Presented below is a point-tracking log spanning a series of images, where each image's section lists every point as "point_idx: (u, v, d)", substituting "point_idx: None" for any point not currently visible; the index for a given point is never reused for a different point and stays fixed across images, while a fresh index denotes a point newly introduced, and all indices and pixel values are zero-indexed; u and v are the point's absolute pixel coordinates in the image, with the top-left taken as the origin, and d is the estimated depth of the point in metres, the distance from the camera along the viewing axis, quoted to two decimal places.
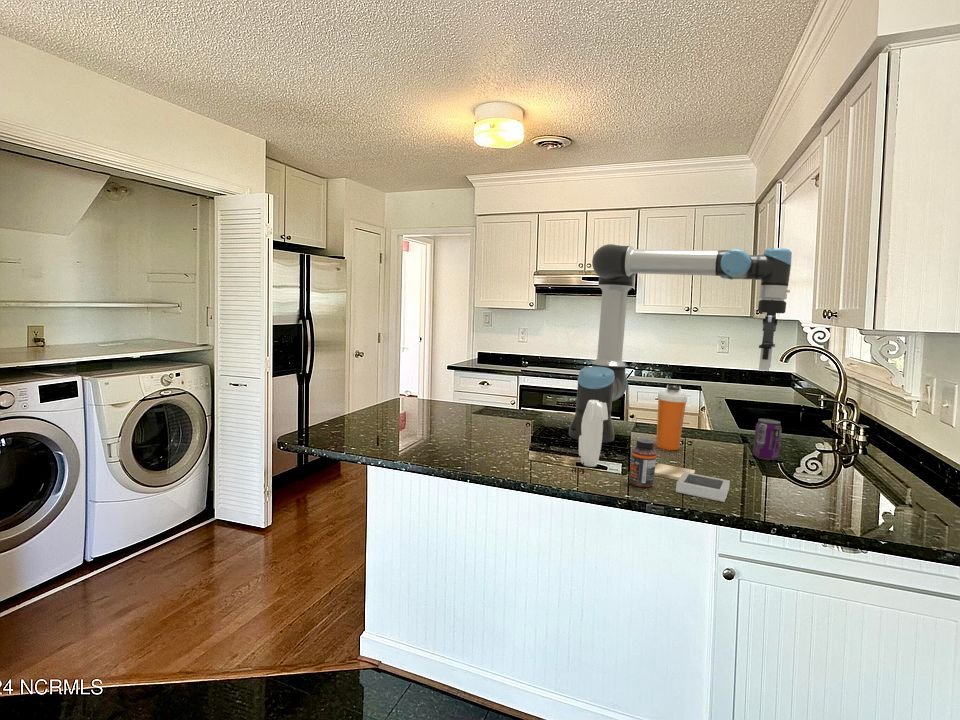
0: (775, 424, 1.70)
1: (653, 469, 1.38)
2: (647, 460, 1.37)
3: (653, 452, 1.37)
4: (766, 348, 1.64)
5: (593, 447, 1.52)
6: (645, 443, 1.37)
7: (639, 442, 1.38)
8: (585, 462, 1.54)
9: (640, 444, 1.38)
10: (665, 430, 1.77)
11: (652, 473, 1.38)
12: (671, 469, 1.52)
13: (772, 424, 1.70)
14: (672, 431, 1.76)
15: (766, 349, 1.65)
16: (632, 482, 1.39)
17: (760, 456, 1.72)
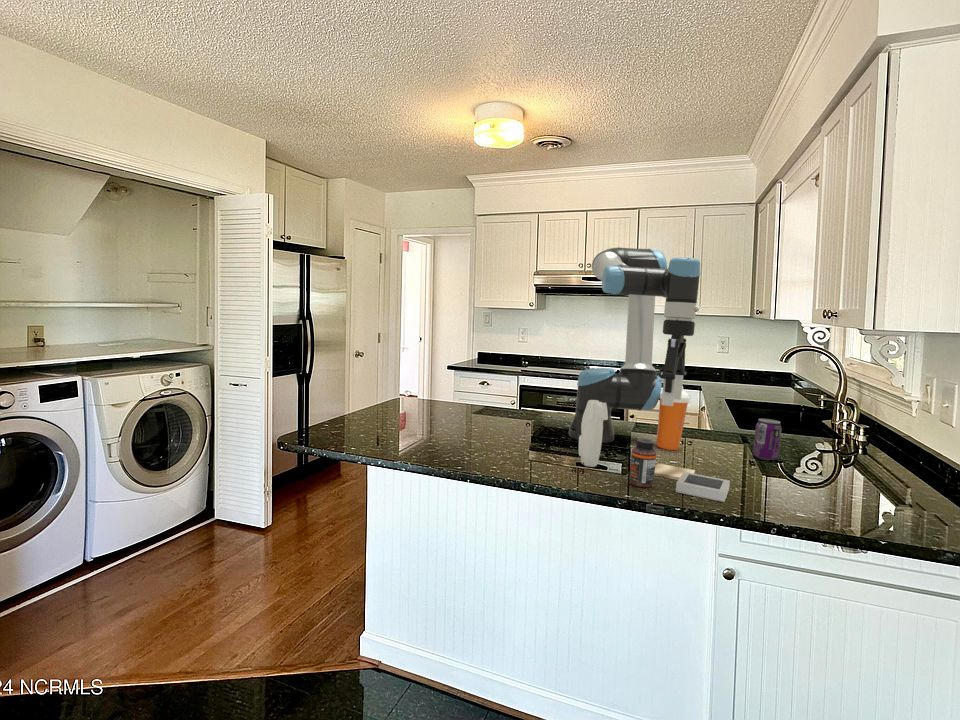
0: (775, 424, 1.70)
1: (653, 469, 1.38)
2: (647, 460, 1.37)
3: (653, 452, 1.37)
4: (668, 379, 1.35)
5: (593, 447, 1.52)
6: (645, 443, 1.37)
7: (639, 442, 1.38)
8: (585, 462, 1.54)
9: (640, 444, 1.38)
10: (666, 430, 1.77)
11: (652, 473, 1.38)
12: (671, 469, 1.52)
13: (772, 424, 1.70)
14: (672, 431, 1.76)
15: (668, 380, 1.36)
16: (632, 482, 1.39)
17: (760, 456, 1.72)
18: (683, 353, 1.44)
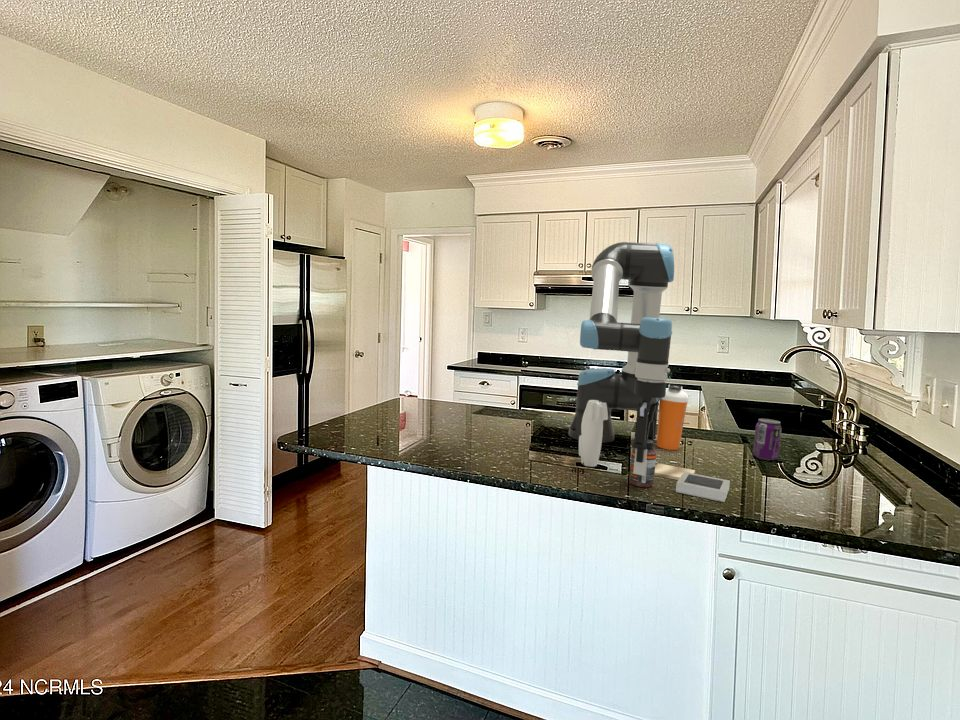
0: (775, 424, 1.70)
1: (653, 469, 1.38)
2: (647, 459, 1.37)
3: (653, 452, 1.37)
4: (640, 449, 1.35)
5: (593, 447, 1.52)
6: None
7: None
8: (585, 462, 1.54)
9: None
10: (666, 430, 1.77)
11: (652, 473, 1.38)
12: (671, 469, 1.52)
13: (772, 424, 1.70)
14: (672, 431, 1.76)
15: (639, 450, 1.35)
16: (632, 482, 1.39)
17: (760, 456, 1.72)
18: (654, 415, 1.39)
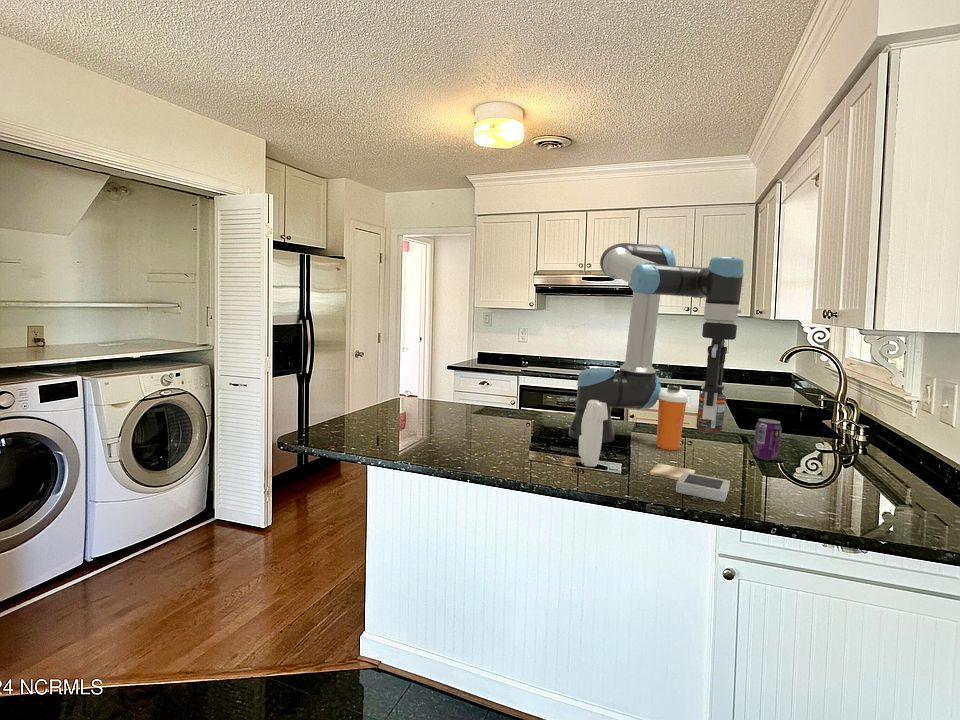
0: (775, 424, 1.70)
1: (722, 414, 1.34)
2: (717, 404, 1.33)
3: (723, 396, 1.33)
4: (710, 392, 1.31)
5: (593, 447, 1.52)
6: None
7: None
8: (585, 462, 1.54)
9: None
10: (665, 430, 1.77)
11: (721, 418, 1.34)
12: (671, 469, 1.52)
13: (772, 424, 1.70)
14: (672, 431, 1.76)
15: (710, 393, 1.31)
16: (700, 428, 1.35)
17: (760, 456, 1.72)
18: (723, 359, 1.35)
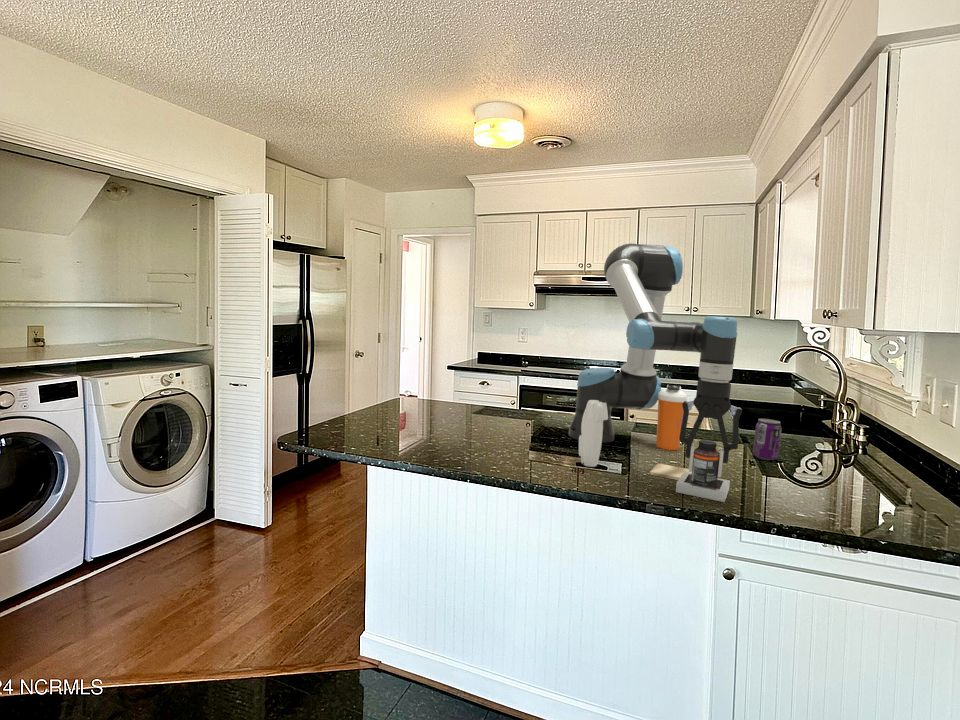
0: (775, 424, 1.70)
1: (702, 470, 1.35)
2: (695, 457, 1.37)
3: (702, 452, 1.35)
4: (685, 443, 1.39)
5: (593, 447, 1.52)
6: (699, 442, 1.37)
7: None
8: (585, 462, 1.54)
9: None
10: (665, 430, 1.77)
11: (700, 474, 1.35)
12: (671, 469, 1.52)
13: (772, 424, 1.70)
14: (672, 431, 1.76)
15: (686, 444, 1.39)
16: None
17: (760, 456, 1.72)
18: (717, 418, 1.34)
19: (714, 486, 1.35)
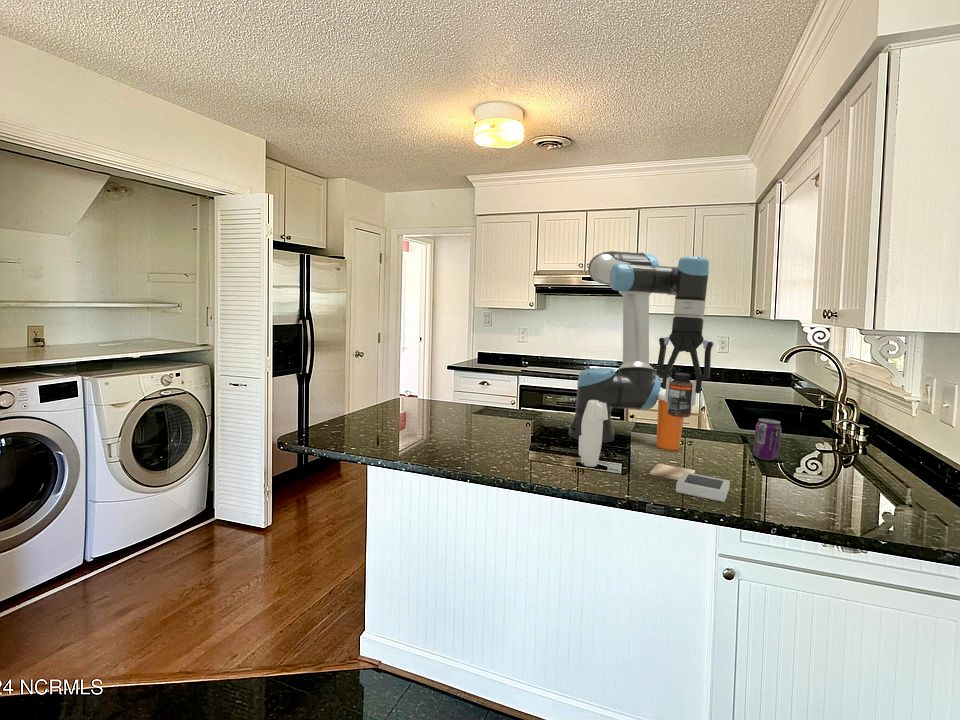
0: (775, 424, 1.70)
1: (675, 399, 1.47)
2: (670, 388, 1.48)
3: (676, 383, 1.47)
4: None
5: (593, 447, 1.52)
6: (674, 374, 1.49)
7: None
8: (585, 462, 1.54)
9: None
10: (665, 430, 1.77)
11: (674, 403, 1.47)
12: (671, 469, 1.52)
13: (772, 424, 1.70)
14: (672, 431, 1.76)
15: None
16: None
17: (760, 456, 1.72)
18: (689, 351, 1.46)
19: (687, 414, 1.47)
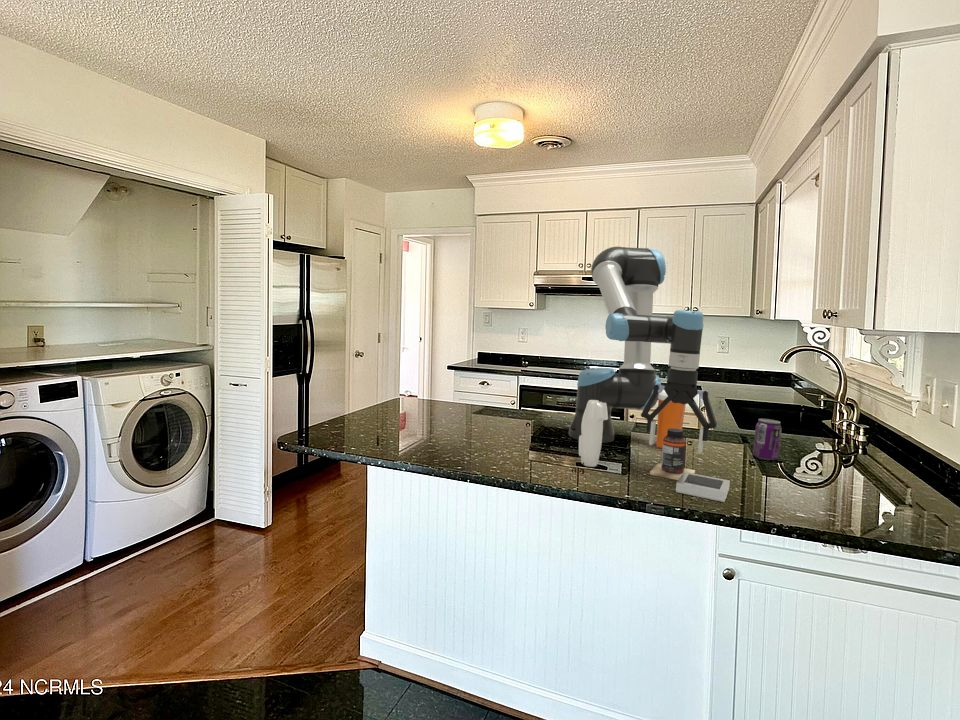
0: (775, 424, 1.70)
1: (669, 455, 1.49)
2: (663, 444, 1.50)
3: (669, 439, 1.49)
4: None
5: (593, 447, 1.52)
6: None
7: None
8: (585, 462, 1.54)
9: None
10: (665, 430, 1.77)
11: (667, 459, 1.49)
12: None
13: (772, 424, 1.70)
14: None
15: None
16: None
17: (760, 456, 1.72)
18: (687, 402, 1.47)
19: (681, 470, 1.48)
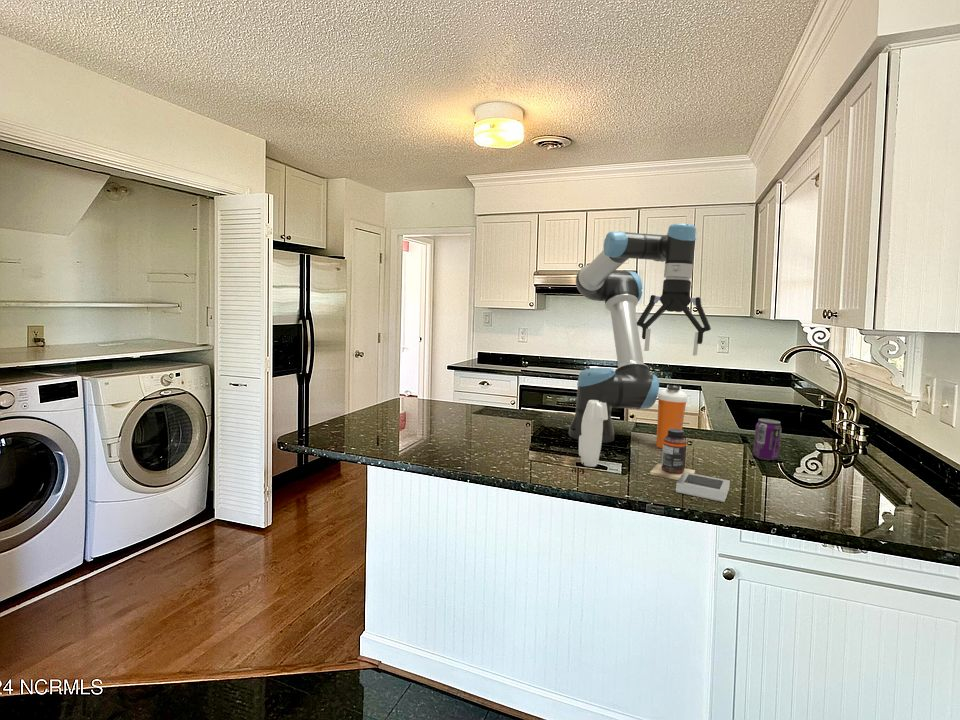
0: (775, 424, 1.70)
1: (669, 456, 1.48)
2: (664, 444, 1.50)
3: (670, 439, 1.48)
4: (642, 327, 1.65)
5: (593, 447, 1.52)
6: (668, 430, 1.50)
7: None
8: (585, 462, 1.54)
9: None
10: (665, 430, 1.77)
11: (668, 459, 1.49)
12: None
13: (772, 424, 1.70)
14: None
15: None
16: None
17: (760, 456, 1.72)
18: (682, 309, 1.58)
19: (681, 470, 1.49)
